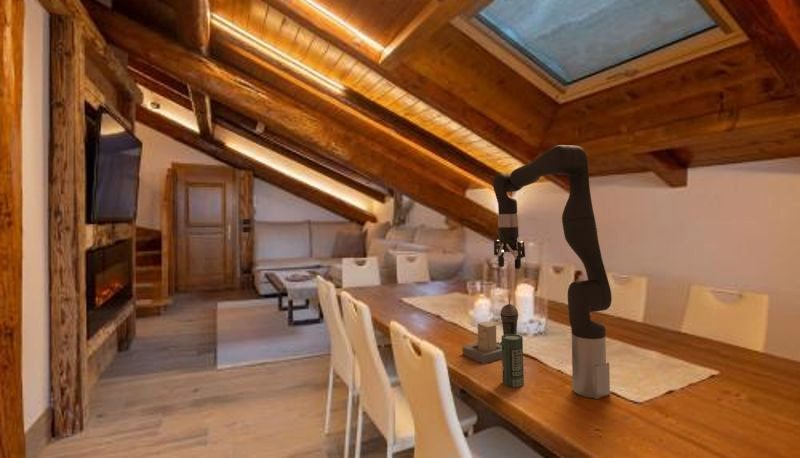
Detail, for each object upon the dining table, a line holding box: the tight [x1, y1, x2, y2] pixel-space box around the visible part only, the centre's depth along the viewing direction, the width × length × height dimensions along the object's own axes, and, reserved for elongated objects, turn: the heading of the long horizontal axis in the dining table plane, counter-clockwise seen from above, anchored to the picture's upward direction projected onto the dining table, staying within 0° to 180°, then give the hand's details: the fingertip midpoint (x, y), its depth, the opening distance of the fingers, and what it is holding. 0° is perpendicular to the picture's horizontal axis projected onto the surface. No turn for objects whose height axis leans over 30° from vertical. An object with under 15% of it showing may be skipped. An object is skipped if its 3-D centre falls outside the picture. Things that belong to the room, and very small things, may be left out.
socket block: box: [462, 342, 502, 365], centre depth 159 cm, size 12×13×3 cm
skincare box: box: [477, 321, 497, 353], centre depth 159 cm, size 6×4×12 cm
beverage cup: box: [499, 294, 519, 335], centre depth 173 cm, size 7×7×20 cm
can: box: [500, 334, 525, 389], centre depth 133 cm, size 6×6×15 cm
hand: (509, 267), depth 163 cm, fingers open, 8 cm apart
